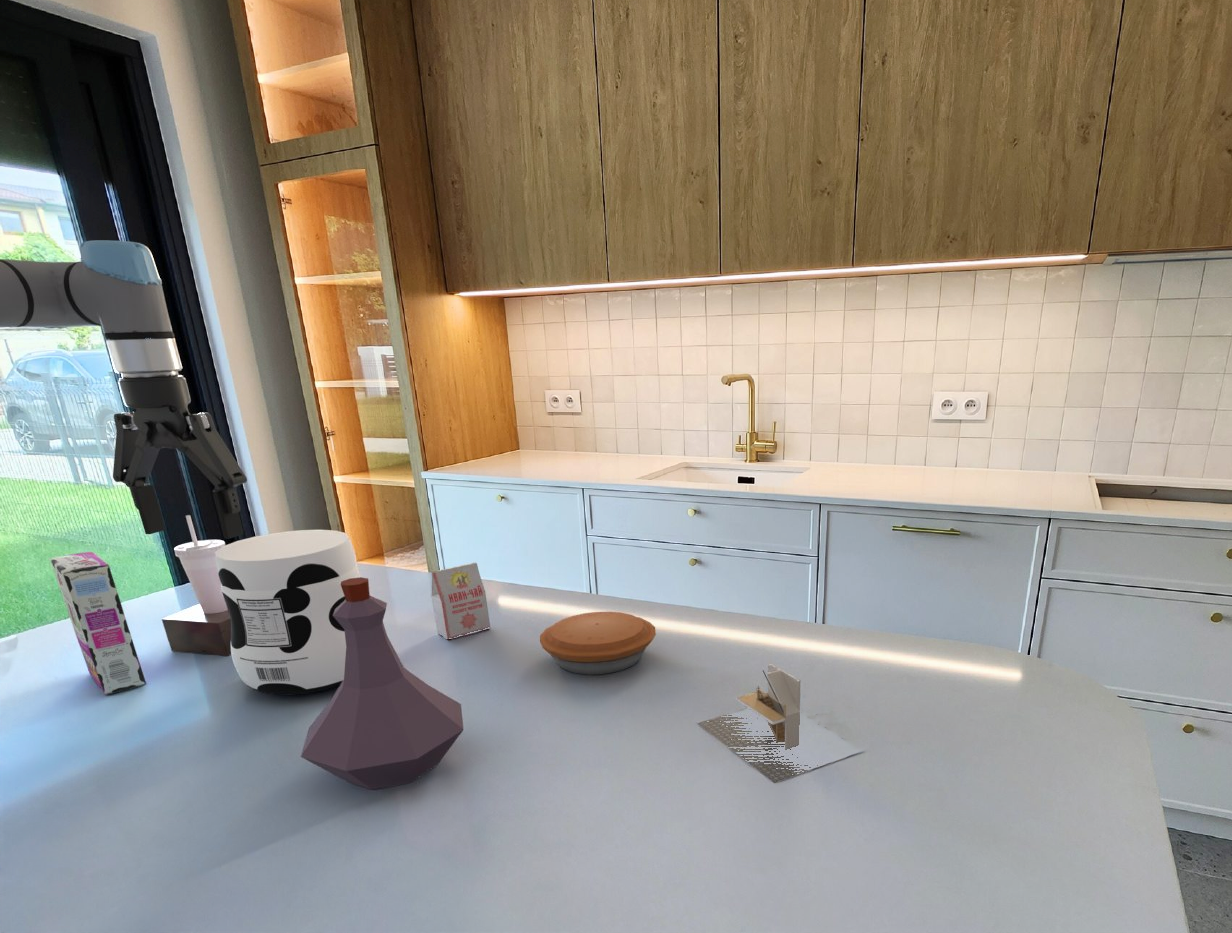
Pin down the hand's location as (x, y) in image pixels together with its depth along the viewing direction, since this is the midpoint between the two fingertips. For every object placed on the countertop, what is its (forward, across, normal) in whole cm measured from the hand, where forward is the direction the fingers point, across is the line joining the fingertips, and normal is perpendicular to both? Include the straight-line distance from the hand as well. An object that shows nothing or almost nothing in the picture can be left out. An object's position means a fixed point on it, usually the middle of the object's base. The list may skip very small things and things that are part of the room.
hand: (194, 534), depth 111 cm
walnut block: (+16, 0, 0) cm, 16 cm away
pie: (+16, -58, -4) cm, 61 cm away
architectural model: (+15, -86, +13) cm, 88 cm away
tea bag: (+16, -34, -10) cm, 39 cm away
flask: (+16, -48, +27) cm, 57 cm away
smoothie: (+11, 0, 0) cm, 11 cm away
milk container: (+16, -24, +9) cm, 30 cm away
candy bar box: (+16, +3, +15) cm, 22 cm away
